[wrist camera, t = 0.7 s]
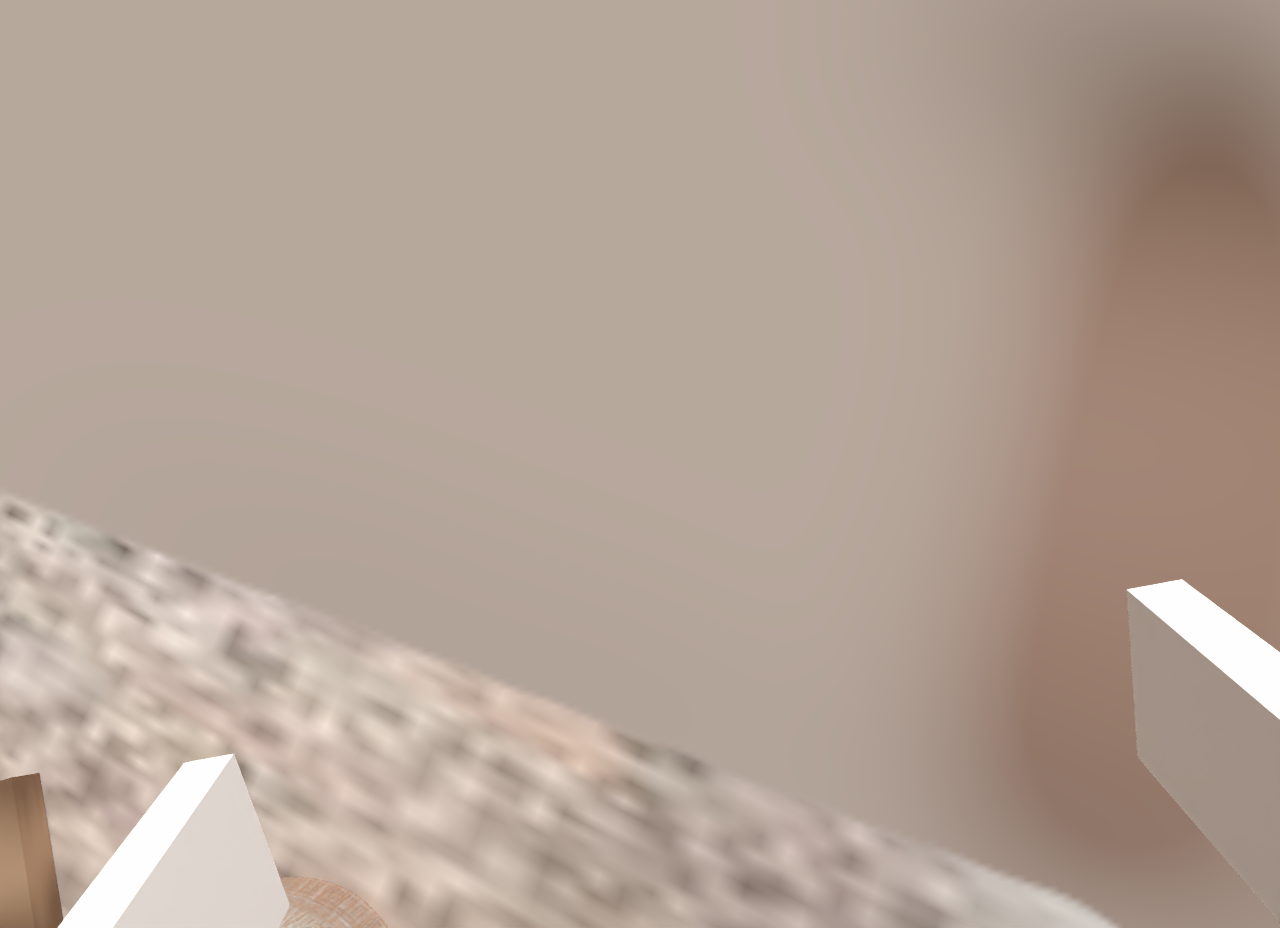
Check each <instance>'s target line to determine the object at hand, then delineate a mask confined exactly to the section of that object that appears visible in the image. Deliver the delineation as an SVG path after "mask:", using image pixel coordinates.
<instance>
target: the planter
mask: <svg viewBox="0 0 1280 928" xmlns="http://www.w3.org/2000/svg"><path fill="white" fill-rule="evenodd" d="M280 880H281V882H282V885H283V888H284V890H285V893H286V896H287V899H288V901H289V904H290V905H289V908H288V910H287V912H286V914H285V916H284V918H283V920H282V922H281V924H280V927H279V928H387V926H386V924H385V923H384V922H383V920H382V919H381V918H380V917H379V915H378V914H377V913H376V912H375V911H374V910H373V909H372V908H371V907H370V906H369V905H368V904H367V903H366V902H364V901H363V900H362V899H361V898H359V897H358V896H357V895H355V894H353V893H352V892H350V891H348V890H346V889H344V888H342V887H340V886H338V885H335V884H333V883H330V882H327V881H323V880H319V879H313V878H304V877H287V878H280Z"/></svg>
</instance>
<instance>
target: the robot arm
mask: <svg viewBox="0 0 1280 928" xmlns="http://www.w3.org/2000/svg"><path fill="white" fill-rule="evenodd" d="M1127 602H1128V616H1129V632H1130V647H1131V663H1132V678H1133V693H1134V708H1135V723H1136V739H1137V753H1138V758H1139V759H1140V760H1141V761H1142V762H1143V764H1144V765H1145V766H1146V767H1147V768H1148V770H1149V771H1150V772H1151V773H1152V774H1153V775H1154V776H1155V778H1156V779H1157V780H1158V781H1159V782H1160V784H1161V785H1162V786H1163V787H1164V788H1165V789H1166V790H1167V792H1168V793H1169V794H1170V795H1171V796H1172V797H1173V799H1174V800H1175V801H1176V802H1177V803H1178V805H1179V806H1180V807H1181V808H1182V809H1183V810H1184V812H1185V813H1186V814H1187V815H1188V816H1189V817H1190V819H1192V821H1193V822H1194V823H1195V824H1196V826H1197V827H1198V828H1199V829H1200V830H1201V831H1202V832H1203V834H1204V835H1205V836H1206V837H1207V838H1208V839H1209V841H1210V842H1211V843H1212V844H1213V845H1214V846H1215V848H1216V849H1217V850H1218V851H1219V852H1220V853H1221V854H1222V856H1223V857H1224V858H1225V859H1226V860H1227V861H1228V863H1229V864H1230V865H1231V866H1232V867H1233V868H1234V870H1235V871H1236V872H1237V873H1238V874H1239V876H1240V877H1241V878H1242V879H1243V880H1244V881H1245V882H1246V884H1247V885H1248V886H1249V887H1250V888H1251V890H1252V891H1253V892H1254V893H1255V894H1256V895H1257V896H1258V898H1259V899H1260V900H1261V901H1262V902H1263V904H1264V905H1265V906H1266V907H1267V908H1268V909H1269V911H1270V912H1271V913H1272V914H1273V915H1274V916H1275V918H1276V919H1277V920H1278V921H1279V922H1280V652H1278V651H1277V650H1276V649H1274V648H1273V647H1272V646H1270V645H1269V644H1268V643H1266V642H1265V641H1264V640H1262V639H1261V638H1259V637H1258V636H1257V635H1256V634H1254V633H1253V632H1252V631H1250V630H1249V629H1248V628H1246V627H1245V626H1243V625H1242V624H1241V623H1239V622H1238V621H1237V620H1235V619H1234V618H1233V617H1231V616H1230V615H1229V614H1227V613H1226V612H1225V611H1223V610H1222V609H1221V608H1219V607H1218V606H1217V605H1215V604H1214V603H1213V602H1211V601H1210V600H1209V599H1207V598H1206V597H1204V596H1203V595H1202V594H1200V593H1199V592H1198V591H1196V590H1195V589H1193V588H1192V587H1191V586H1190V585H1188V584H1187V583H1186V582H1184V581H1183V580H1177V581H1171V582H1165V583H1160V584H1154V585H1149V586H1144V587H1139V588H1133V589H1127ZM289 905H290V904H289V901H288V899H287V896H286V893H285V890H284V888H283V885H282V882H281V880H280V877H279V874H278V872H277V869H276V866H275V863H274V861H273V858H272V855H271V853H270V850H269V847H268V845H267V842H266V839H265V836H264V834H263V831H262V828H261V826H260V823H259V820H258V818H257V815H256V812H255V809H254V807H253V804H252V801H251V799H250V796H249V793H248V791H247V788H246V785H245V783H244V780H243V777H242V774H241V772H240V769H239V766H238V764H237V761H236V758H235V756H234V754H229V755H224V756H218V757H213V758H207V759H202V760H197V761H191V762H186V763H184V764H183V765H182V767H181V768H180V769H179V770H178V772H177V773H176V774H175V776H174V777H173V778H172V780H171V781H170V782H169V783H168V785H167V786H166V787H165V789H164V790H163V791H162V793H161V794H160V795H159V796H158V798H157V799H156V800H155V802H154V803H153V804H152V806H151V807H150V808H149V809H148V811H147V812H146V813H145V815H144V816H143V817H142V819H141V820H140V821H139V822H138V824H137V825H136V826H135V828H134V829H133V830H132V832H131V833H130V834H129V835H128V837H127V838H126V839H125V841H124V842H123V843H122V845H121V846H120V847H119V848H118V850H117V851H116V852H115V854H114V855H113V856H112V858H111V859H110V860H109V861H108V863H107V864H106V865H105V867H104V868H103V869H102V871H101V872H100V873H99V874H98V876H97V877H96V878H95V880H94V881H93V882H92V884H91V885H90V886H89V887H88V889H87V890H86V891H85V893H84V894H83V895H82V897H81V898H80V899H79V900H78V902H77V903H76V904H75V906H74V907H73V908H72V910H71V911H70V912H69V913H68V915H67V916H66V917H65V919H64V920H63V921H62V923H61V924H60V925H59V926H58V928H279V927H280V924H281V922H282V920H283V918H284V916H285V914H286V912H287V910H288V908H289Z"/></svg>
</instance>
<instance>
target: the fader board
mask: <svg viewBox="0 0 1280 928" xmlns="http://www.w3.org/2000/svg"><path fill="white" fill-rule="evenodd" d="M62 921H63V916H62V910H61V904H60V898H59V891H58V885H57V879H56V873H55V867H54V861H53V854H52V848H51V842H50V836H49V830H48V824H47V817H46V811H45V805H44V799H43V793H42V787H41V780H40V774H39V773H37V774H31V775H25V776H19V777H13V778H9V779H5V780H2V781H0V928H58V926H59V925H60V924H61V923H62Z"/></svg>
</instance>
